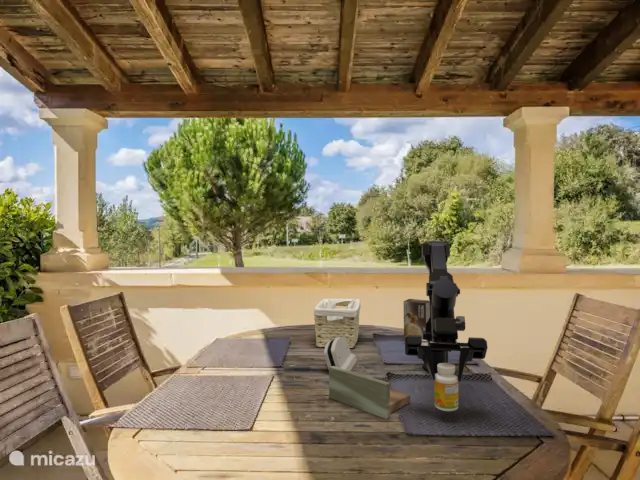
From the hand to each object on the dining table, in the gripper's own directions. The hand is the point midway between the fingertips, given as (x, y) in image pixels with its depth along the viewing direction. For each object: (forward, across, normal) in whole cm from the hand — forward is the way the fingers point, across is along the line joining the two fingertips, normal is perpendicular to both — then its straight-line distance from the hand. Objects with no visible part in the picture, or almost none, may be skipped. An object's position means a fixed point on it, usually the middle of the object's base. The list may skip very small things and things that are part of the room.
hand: (446, 380), depth 100 cm
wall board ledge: (+1, -18, +12) cm, 22 cm away
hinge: (-16, -30, +30) cm, 45 cm away
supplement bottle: (+4, 0, +6) cm, 7 cm away
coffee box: (-38, -5, +53) cm, 65 cm away
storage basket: (-37, -35, +52) cm, 73 cm away
